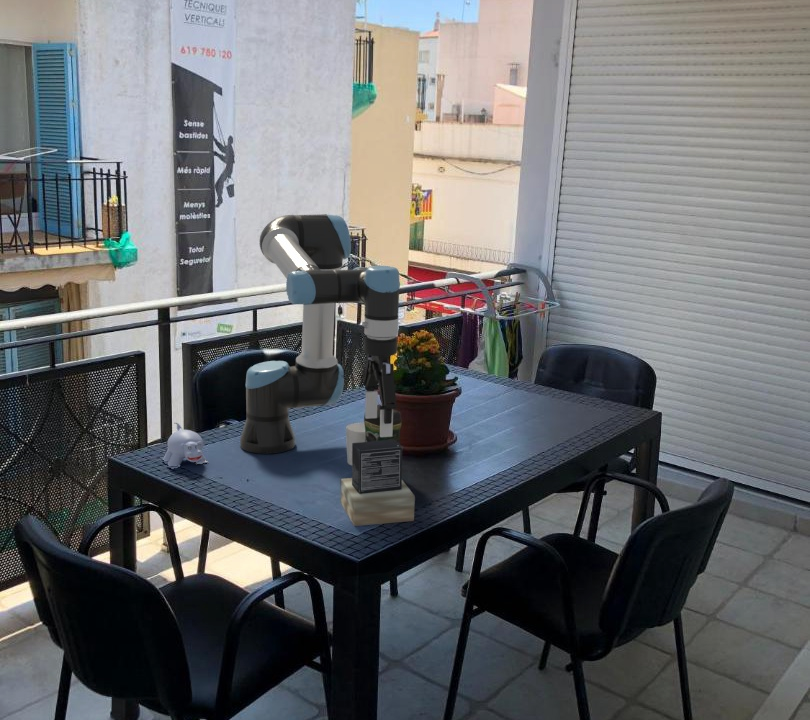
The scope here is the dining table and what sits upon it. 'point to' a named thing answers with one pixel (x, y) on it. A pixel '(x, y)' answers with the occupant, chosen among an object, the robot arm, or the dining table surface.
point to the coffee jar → (374, 427)
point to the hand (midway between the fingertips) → (378, 427)
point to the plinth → (377, 515)
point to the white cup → (354, 437)
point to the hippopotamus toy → (184, 447)
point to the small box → (376, 466)
